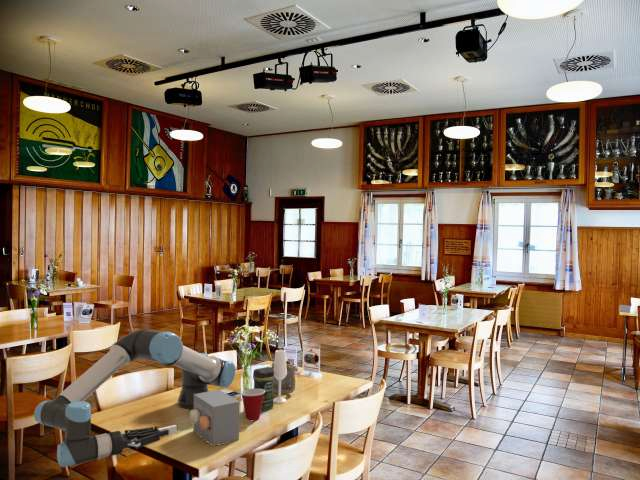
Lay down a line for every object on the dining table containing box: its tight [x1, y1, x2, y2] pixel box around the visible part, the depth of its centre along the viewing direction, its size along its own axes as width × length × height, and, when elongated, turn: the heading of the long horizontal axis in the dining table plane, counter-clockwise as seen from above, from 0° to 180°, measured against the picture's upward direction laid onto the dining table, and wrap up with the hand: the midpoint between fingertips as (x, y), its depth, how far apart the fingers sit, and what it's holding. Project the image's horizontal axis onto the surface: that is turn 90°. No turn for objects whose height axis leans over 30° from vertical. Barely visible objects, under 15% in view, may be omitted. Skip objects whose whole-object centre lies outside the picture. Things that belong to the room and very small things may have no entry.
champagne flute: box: [273, 349, 287, 404], centre depth 241 cm, size 7×7×24 cm
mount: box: [192, 389, 241, 447], centre depth 198 cm, size 18×11×15 cm, turn 38°
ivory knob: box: [189, 409, 201, 425], centre depth 200 cm, size 5×11×5 cm, turn 128°
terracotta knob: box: [199, 415, 211, 431], centre depth 194 cm, size 5×11×5 cm, turn 128°
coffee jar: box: [252, 366, 274, 412], centre depth 230 cm, size 10×8×19 cm
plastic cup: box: [240, 388, 265, 422], centre depth 217 cm, size 11×11×12 cm
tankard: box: [271, 360, 299, 395], centre depth 255 cm, size 20×13×15 cm, turn 33°
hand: (175, 429), depth 184 cm, fingers closed
